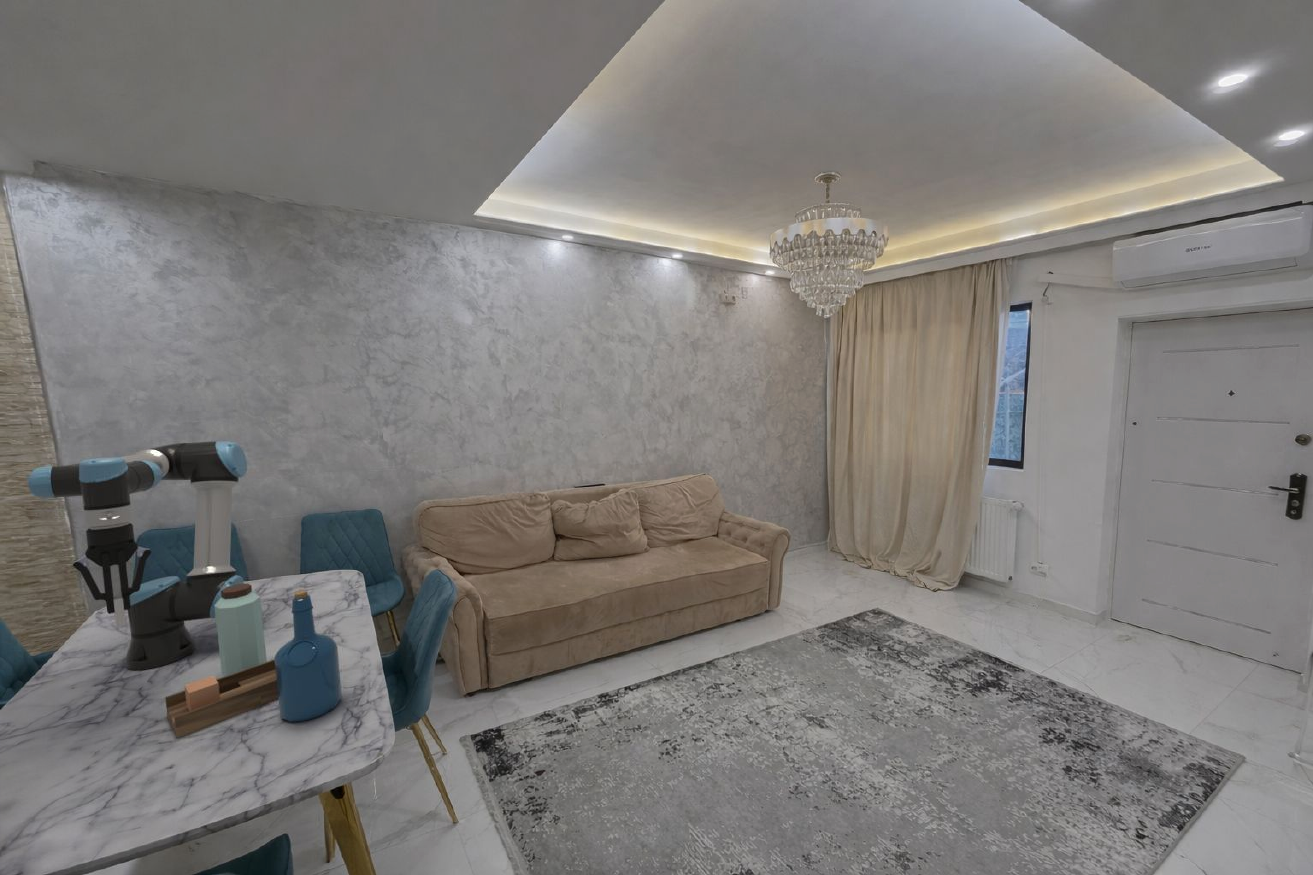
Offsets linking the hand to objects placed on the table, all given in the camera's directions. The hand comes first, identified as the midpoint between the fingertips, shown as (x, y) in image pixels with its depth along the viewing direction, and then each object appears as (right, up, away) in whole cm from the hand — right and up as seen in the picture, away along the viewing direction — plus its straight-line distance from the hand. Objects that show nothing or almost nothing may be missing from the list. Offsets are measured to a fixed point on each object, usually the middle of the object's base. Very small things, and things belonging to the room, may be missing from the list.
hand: (120, 624), depth 123 cm
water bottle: (+9, -23, +25) cm, 35 cm away
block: (+14, -22, +7) cm, 27 cm away
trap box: (+19, -24, +14) cm, 34 cm away
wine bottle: (+39, -24, +9) cm, 46 cm away
